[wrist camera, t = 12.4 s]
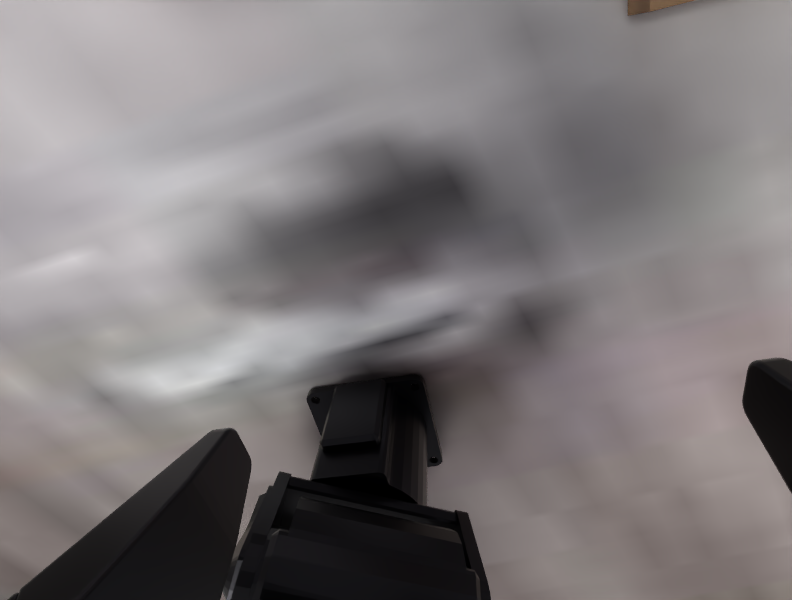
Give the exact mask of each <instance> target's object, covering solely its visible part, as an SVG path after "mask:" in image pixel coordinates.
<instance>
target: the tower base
mask: <svg viewBox="0 0 792 600" xmlns="http://www.w3.org/2000/svg"><path fill="white" fill-rule="evenodd" d="M690 1H694V0H628V16H629V15H635V14H640V13H645V12H651V11H655V10H658V9H662V8H666V7H670V6H674V5H678V4H682V3H686V2H690Z"/></svg>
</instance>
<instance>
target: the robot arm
mask: <svg viewBox="0 0 792 600" xmlns="http://www.w3.org/2000/svg"><path fill="white" fill-rule="evenodd" d="M413 383H416V384H418V385H417V386H413V385H411V384H413ZM314 397H318V398H319V399H316V398H314ZM742 402H743V408H744V411H745V414H746V416H747V417H748V419H749V421H750V423H751V424H752V426H753V428H754V430H755V431H756V433H757V435H758V436H759V438H760V440H761V442H762V443H763V445H764V447H765V449H766V450H767V452H768V454H769V455H770V457H771V459H772V461H773V462H774V464H775V466H776V468H777V469H778V471H779V473H780V474H781V476H782V478H783V480H784V481H785V483H786V485H787V486H788V488H789V490H790V491H791V493H792V361H790V360H787V359H784V358H771V359H763V360H756V361H753V362H752V363H751V364H750V365H749V367H748V370H747V376H746V382H745V387H744V393H743V400H742ZM307 403H308V405H309V407H310V410H311V412H312V415H313V417H314V420H315V422H316V425H317V427H318V429H319V432H320V434H321V439H320V446H319V449H318V453H317V456H316V460H315V464H314V467H313V471H312V475H311V478H310V480H306V479H301V478H297V477H292V476H291V474H289V473H284V472H279V474H278V476H277V478H276V481H275V483H274V485H273V486H269V488H268V490H267V492H266V493H265V494H263V495H260V496H259V498H258V501H257V504H256V506H255V509H254V511H253V514H252V517H251V519H250V522H249V524H248V526H247V529H246V531H245V532H244V534H243V536H242V538H241V539H240V541H239V542H238V544H237V546H236V542H237V538H238V534H239V529H240V524H241V519H242V513H243V508H244V503H245V498H246V493H247V488H248V483H249V478H250V473H251V459H250V456H249V454H248V452H247V450H246V448H245V446H244V444H243V442H242V441H241V439H240V437H239V435H238V433H237V432H236V430H234V429H233V428H224V429H216V430H212V431H210V432H209V433H208V434H207V435H205V436H204V437H203V438H202V439H201V440H199V441H198V442H197V443H196V444H195V445H193V446H192V447H191V448H190V449H189V450H187V451H186V452H185V453H184V454H182V455H181V456H180V457H179V458H178V459H176V460H175V461H174V462H173V463H172V464H170V465H169V466H168V467H167V468H166V469H164V470H163V471H162V472H161V473H160V474H158V475H157V476H156V477H155V478H154V479H152V480H151V481H150V482H149V483H148V484H146V485H145V486H144V487H143V488H142V489H140V490H139V491H138V492H137V493H136V494H134V495H133V496H132V497H131V498H129V499H128V500H127V501H126V502H125V503H123V504H122V505H121V506H120V507H119V508H117V509H116V510H115V511H114V512H113V513H111V514H110V515H109V516H108V517H107V518H105V519H104V520H103V521H102V522H101V523H99V524H98V525H97V526H96V527H95V528H93V529H92V530H91V531H90V532H89V533H87V534H86V535H85V536H84V537H83V538H81V539H80V540H79V541H78V542H76V543H75V544H74V545H73V546H72V547H70V548H69V549H68V550H67V551H66V552H64V553H63V554H62V555H61V556H60V557H58V558H57V559H56V560H55V561H54V562H52V563H51V564H50V565H49V566H48V567H46V568H45V569H44V570H43V571H42V572H40V573H39V574H38V575H37V576H36V577H34V578H33V579H32V580H31V581H30V582H28V583H27V584H26V585H25V586H23V587H22V588H21V590H20V592H19V593H15V594H14V595H12V596H11V597H10V598H9V599H8V600H220V598H221V595H222V591H223V594H224V596H225V598H226V600H491V597H490V590H489V586H488V581H487V578H486V574H485V571H484V567H483V564H482V561H481V557H480V554H479V550H478V547H477V543H476V540H475V536H474V533H473V529H472V526H471V522H470V519H469V515H468V513H467V512H462V511H457V510H455V512H452V511H447V510H443V509H438V508H434V507H429V506H427V467H431V466H437V465H439V464H441V462H442V452H441V448H440V444H439V440H438V435H437V431H436V427H435V423H434V419H433V415H432V411H431V407H430V403H429V399H428V395H427V391H426V386H425V382H424V380H423V378H422V377H421V376H419V375H408V376H401V377H394V378H386V379H378V380H371V381H363V382H356V383H349V384H342V385H336V386H329V387H321V388H314V389H311V390H310V391H309V393H308V396H307ZM432 457H435V458H432Z"/></svg>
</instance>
